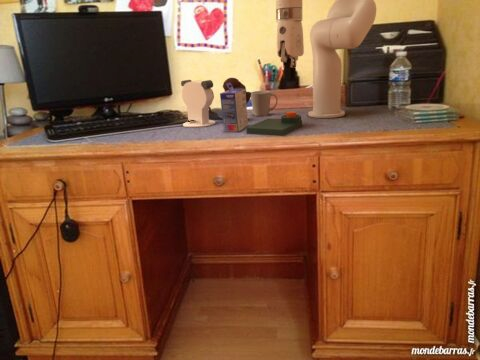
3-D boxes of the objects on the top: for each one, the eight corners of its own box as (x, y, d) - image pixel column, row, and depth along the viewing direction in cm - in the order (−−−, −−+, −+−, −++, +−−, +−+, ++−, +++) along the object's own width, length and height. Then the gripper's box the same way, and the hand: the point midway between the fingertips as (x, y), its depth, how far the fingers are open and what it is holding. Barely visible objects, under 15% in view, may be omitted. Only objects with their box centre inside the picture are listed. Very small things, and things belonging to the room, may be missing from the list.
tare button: (288, 116, 123) (288, 111, 123) (297, 116, 122) (297, 111, 121) (284, 118, 121) (284, 113, 120) (293, 118, 119) (293, 113, 119)
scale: (268, 124, 129) (267, 113, 128) (303, 125, 123) (303, 114, 122) (246, 133, 117) (246, 122, 116) (285, 136, 111) (284, 124, 110)
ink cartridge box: (233, 125, 130) (229, 81, 126) (248, 125, 129) (246, 80, 124) (222, 132, 122) (218, 84, 117) (238, 132, 120) (235, 84, 115)
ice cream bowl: (249, 122, 133) (247, 77, 128) (218, 123, 135) (214, 79, 130) (254, 117, 143) (252, 75, 138) (225, 117, 145) (222, 76, 140)
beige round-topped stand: (223, 122, 137) (220, 78, 132) (202, 128, 129) (197, 82, 124) (197, 120, 144) (194, 78, 139) (176, 126, 136) (171, 82, 131)
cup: (251, 113, 150) (250, 91, 147) (277, 112, 150) (276, 89, 147) (251, 117, 143) (250, 93, 140) (278, 115, 142) (277, 92, 140)
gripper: (291, 13, 104) (291, 84, 110) (310, 15, 116) (310, 79, 122) (266, 16, 107) (268, 84, 113) (287, 18, 119) (288, 79, 125)
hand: (289, 81), depth 117 cm, fingers closed
